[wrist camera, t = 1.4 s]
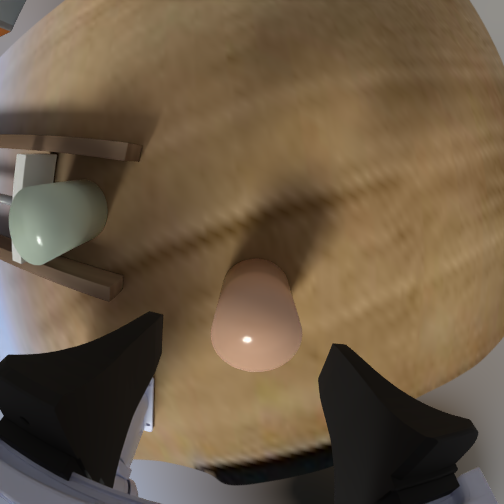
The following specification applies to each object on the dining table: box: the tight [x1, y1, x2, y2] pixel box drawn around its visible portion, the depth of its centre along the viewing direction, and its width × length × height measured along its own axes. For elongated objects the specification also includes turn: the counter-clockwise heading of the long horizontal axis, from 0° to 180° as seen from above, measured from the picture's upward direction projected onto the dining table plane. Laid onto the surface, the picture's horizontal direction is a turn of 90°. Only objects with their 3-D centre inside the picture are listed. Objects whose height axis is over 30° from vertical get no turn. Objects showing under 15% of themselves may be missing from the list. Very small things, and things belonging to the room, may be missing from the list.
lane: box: [0, 134, 142, 302], centre depth 17 cm, size 11×22×4 cm, turn 76°
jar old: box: [9, 179, 108, 265], centre depth 16 cm, size 5×5×6 cm
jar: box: [211, 258, 302, 372], centre depth 18 cm, size 5×5×6 cm
